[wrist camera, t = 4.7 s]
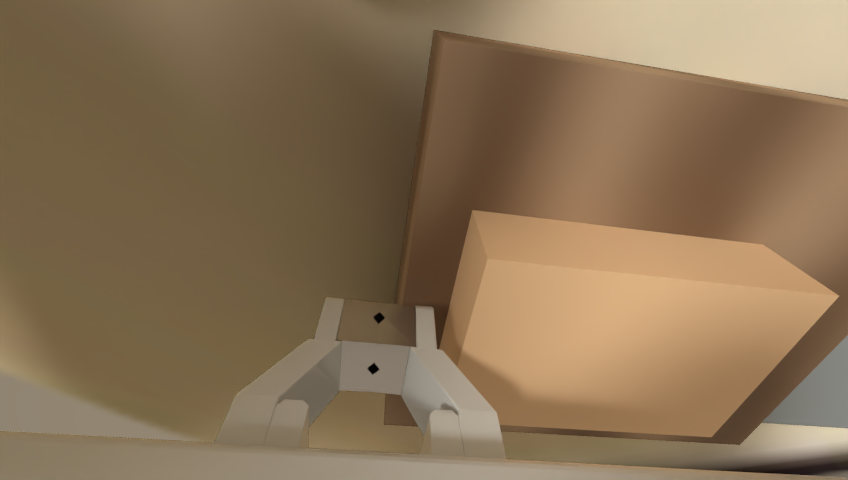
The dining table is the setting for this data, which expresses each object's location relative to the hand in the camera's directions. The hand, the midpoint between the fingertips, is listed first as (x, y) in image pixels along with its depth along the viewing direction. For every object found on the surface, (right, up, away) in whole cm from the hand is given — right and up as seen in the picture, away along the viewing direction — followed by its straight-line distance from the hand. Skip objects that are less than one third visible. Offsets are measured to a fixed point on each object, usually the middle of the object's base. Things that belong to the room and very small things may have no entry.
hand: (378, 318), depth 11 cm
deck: (+9, +2, +5) cm, 10 cm away
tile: (+7, 0, +2) cm, 7 cm away
